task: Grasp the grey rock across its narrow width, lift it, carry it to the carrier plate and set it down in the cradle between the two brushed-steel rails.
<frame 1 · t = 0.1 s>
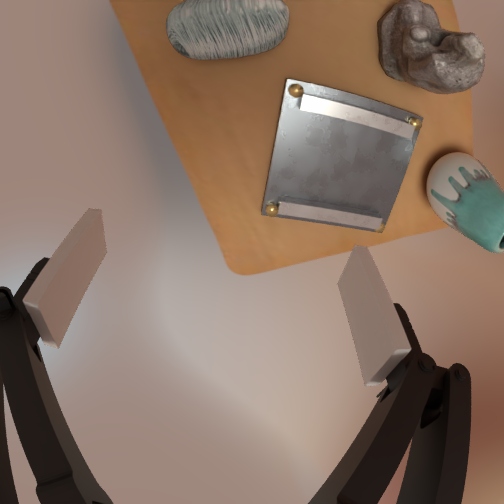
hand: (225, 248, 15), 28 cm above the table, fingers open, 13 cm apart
figurine: (404, 42, 29), on the table
grey rock: (230, 26, 29), on the table
vase: (445, 176, 41), on the table
carrier: (342, 161, 40), on the table
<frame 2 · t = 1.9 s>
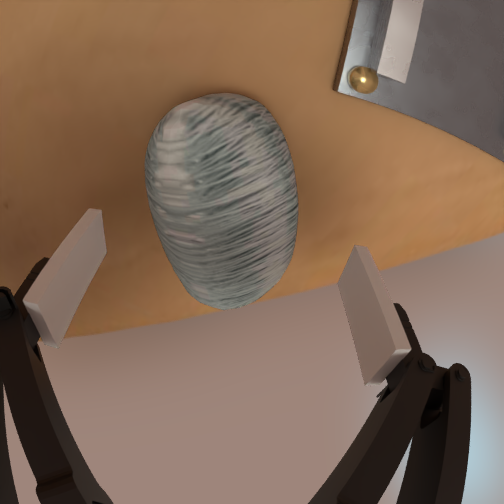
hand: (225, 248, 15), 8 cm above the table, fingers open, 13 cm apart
grey rock: (225, 178, 22), on the table
carrier: (472, 24, 13), on the table
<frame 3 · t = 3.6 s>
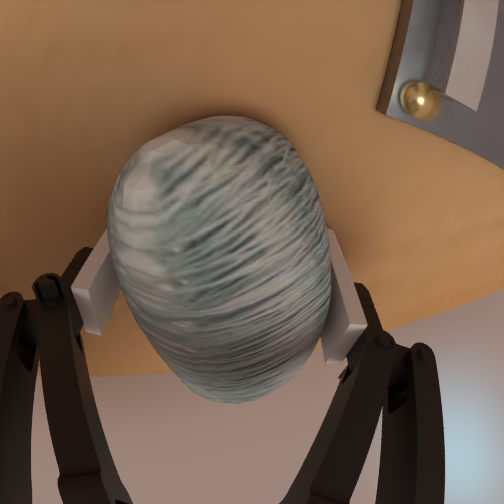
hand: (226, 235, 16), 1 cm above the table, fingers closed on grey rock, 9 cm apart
grey rock: (227, 226, 17), on the table, touching gripper
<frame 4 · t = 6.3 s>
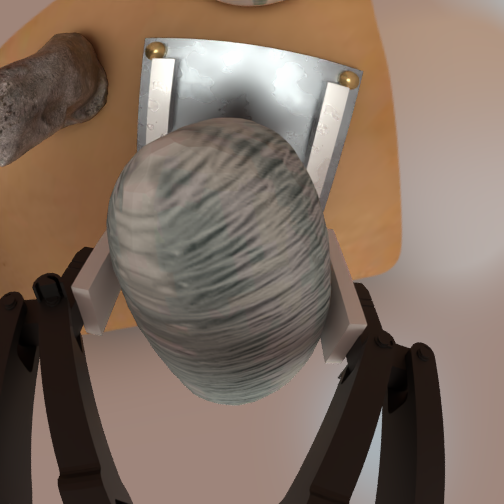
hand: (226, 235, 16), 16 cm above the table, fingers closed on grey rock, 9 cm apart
figurine: (62, 89, 24), on the table
grey rock: (227, 228, 17), point 15 cm above the table, touching gripper
carrier: (238, 143, 29), on the table
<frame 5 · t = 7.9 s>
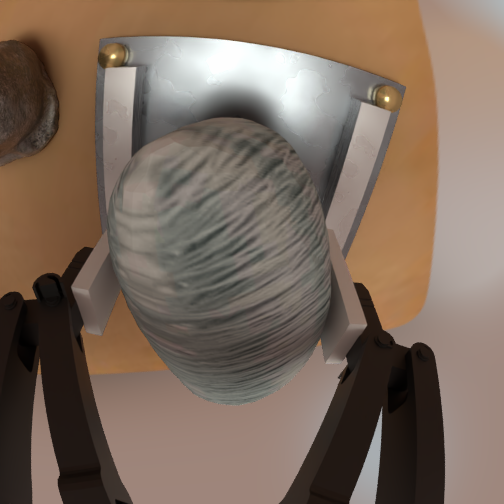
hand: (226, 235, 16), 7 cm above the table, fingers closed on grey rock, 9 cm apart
figurine: (9, 111, 17), on the table
grey rock: (227, 228, 17), point 6 cm above the table, touching gripper
carrier: (231, 182, 21), on the table
when the fingers open (4 cm above the table, at t = 9.4 s): grey rock drops 2 cm, resting on carrier.
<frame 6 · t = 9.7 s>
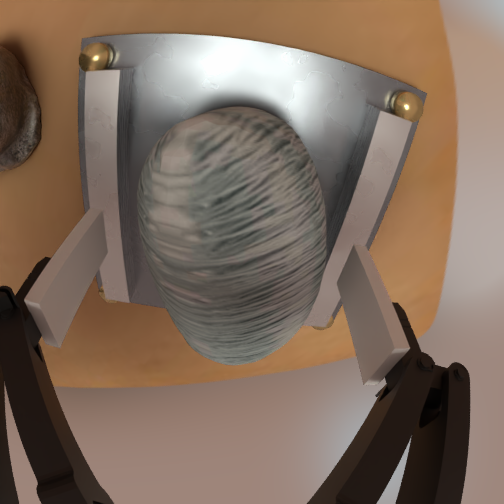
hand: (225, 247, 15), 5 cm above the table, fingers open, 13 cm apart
grey rock: (234, 206, 19), point 1 cm above the table, touching carrier
carrier: (231, 198, 19), on the table
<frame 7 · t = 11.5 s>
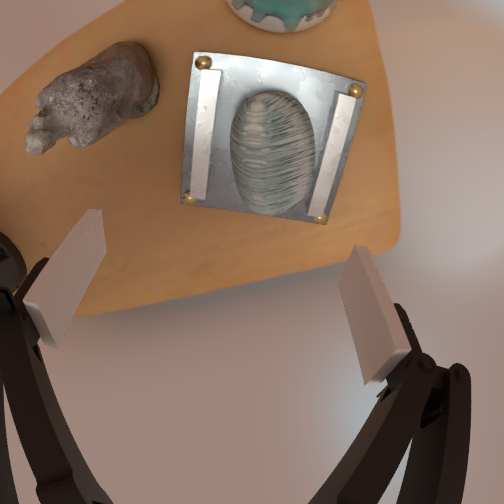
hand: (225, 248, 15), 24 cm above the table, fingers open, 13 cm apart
figurine: (116, 88, 31), on the table
grey rock: (270, 142, 35), point 1 cm above the table, touching carrier
carrier: (267, 139, 35), on the table
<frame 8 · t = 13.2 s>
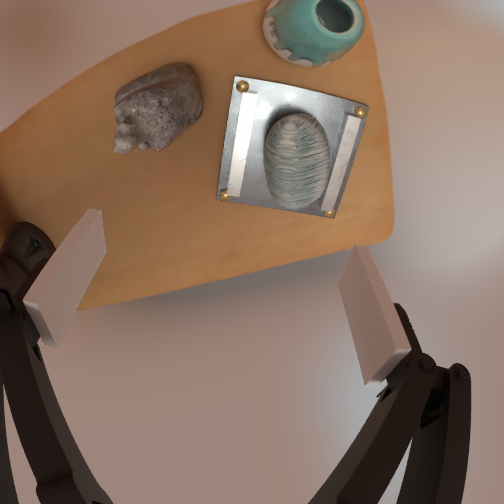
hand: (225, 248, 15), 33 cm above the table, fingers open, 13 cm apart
figurine: (164, 101, 40), on the table
grey rock: (292, 152, 44), point 1 cm above the table, touching carrier
vase: (302, 29, 33), on the table
carrier: (290, 149, 44), on the table
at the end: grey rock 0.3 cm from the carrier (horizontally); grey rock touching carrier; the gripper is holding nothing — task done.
